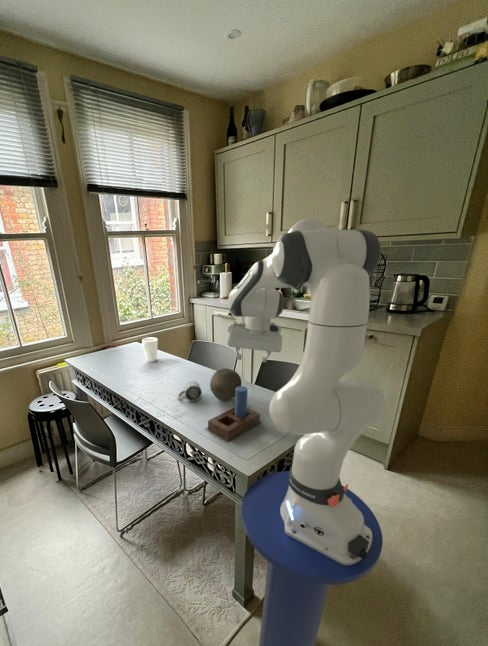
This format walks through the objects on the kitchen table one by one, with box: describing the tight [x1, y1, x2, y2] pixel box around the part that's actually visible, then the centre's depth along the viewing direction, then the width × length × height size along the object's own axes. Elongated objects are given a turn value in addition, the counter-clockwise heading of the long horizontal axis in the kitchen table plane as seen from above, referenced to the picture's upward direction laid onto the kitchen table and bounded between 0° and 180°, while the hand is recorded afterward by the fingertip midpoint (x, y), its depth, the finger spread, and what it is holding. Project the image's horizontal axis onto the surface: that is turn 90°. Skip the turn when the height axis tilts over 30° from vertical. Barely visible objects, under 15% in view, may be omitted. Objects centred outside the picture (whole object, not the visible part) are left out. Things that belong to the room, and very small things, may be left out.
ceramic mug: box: [177, 380, 203, 402], centre depth 145 cm, size 11×8×8 cm
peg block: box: [207, 406, 261, 442], centre depth 123 cm, size 10×18×4 cm, turn 130°
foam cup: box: [141, 336, 159, 363], centre depth 192 cm, size 10×9×13 cm
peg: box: [234, 385, 249, 418], centre depth 123 cm, size 4×4×15 cm
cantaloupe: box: [209, 367, 242, 402], centre depth 140 cm, size 14×14×15 cm
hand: (251, 360), depth 122 cm, fingers open, 8 cm apart
